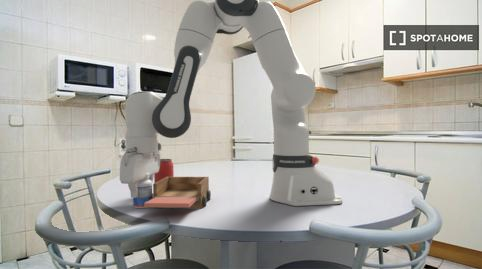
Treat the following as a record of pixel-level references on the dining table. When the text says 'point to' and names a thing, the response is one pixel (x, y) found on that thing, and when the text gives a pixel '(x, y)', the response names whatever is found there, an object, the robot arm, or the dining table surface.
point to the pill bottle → (143, 192)
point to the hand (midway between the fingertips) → (141, 193)
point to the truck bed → (184, 189)
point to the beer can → (164, 170)
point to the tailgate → (171, 201)
